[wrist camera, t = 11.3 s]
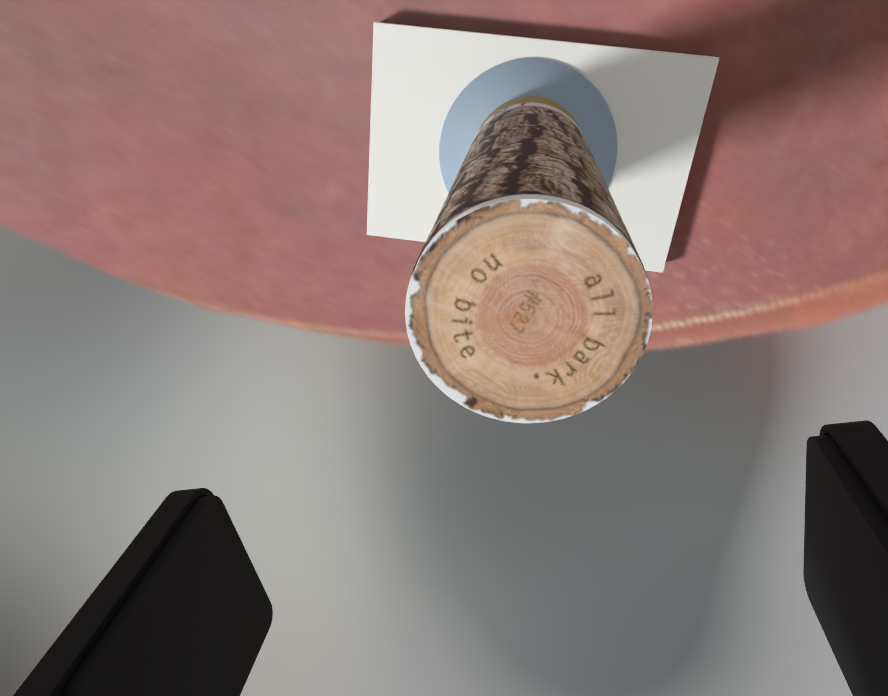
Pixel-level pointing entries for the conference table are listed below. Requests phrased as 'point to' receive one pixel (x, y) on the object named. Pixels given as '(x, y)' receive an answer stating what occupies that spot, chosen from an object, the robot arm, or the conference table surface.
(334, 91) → the conference table surface
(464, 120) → the holder board
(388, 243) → the conference table surface
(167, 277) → the conference table surface
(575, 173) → the paper tube
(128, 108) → the conference table surface
